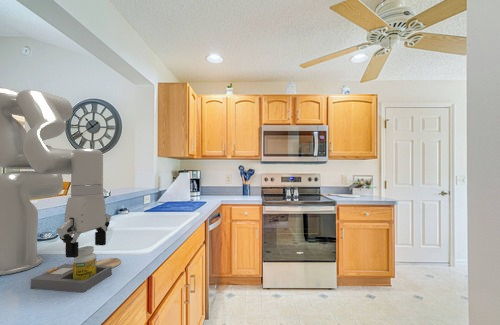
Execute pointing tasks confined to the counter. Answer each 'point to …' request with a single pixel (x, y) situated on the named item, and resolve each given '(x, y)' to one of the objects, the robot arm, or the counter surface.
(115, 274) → the counter surface
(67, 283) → the gray rectangular fixture
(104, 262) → the cork coaster
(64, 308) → the counter surface
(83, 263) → the supplement bottle
